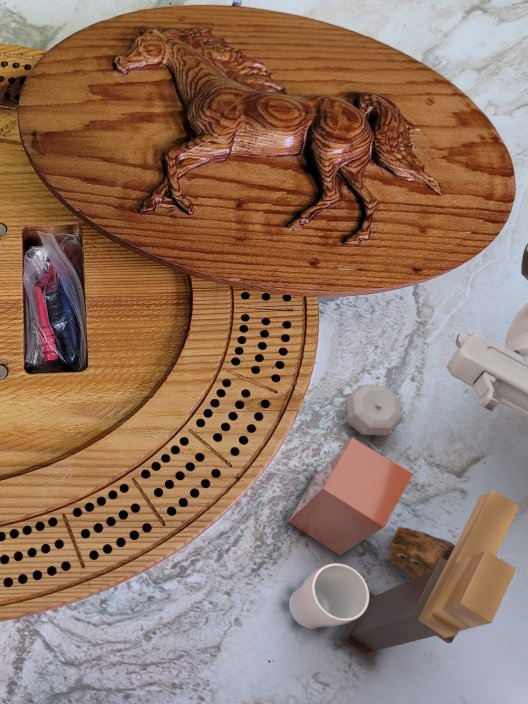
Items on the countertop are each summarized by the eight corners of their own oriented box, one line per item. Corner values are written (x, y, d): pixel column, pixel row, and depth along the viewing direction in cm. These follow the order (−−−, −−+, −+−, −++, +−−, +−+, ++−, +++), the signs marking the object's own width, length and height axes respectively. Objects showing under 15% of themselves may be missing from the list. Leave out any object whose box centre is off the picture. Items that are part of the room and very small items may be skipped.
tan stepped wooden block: (506, 511, 90) (554, 488, 81) (445, 638, 85) (489, 628, 76) (479, 496, 91) (524, 471, 82) (417, 620, 86) (457, 608, 77)
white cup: (323, 644, 109) (359, 632, 96) (275, 618, 111) (303, 603, 97) (341, 597, 111) (378, 579, 98) (293, 573, 113) (323, 552, 100)
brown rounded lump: (368, 560, 113) (395, 545, 104) (387, 524, 115) (415, 505, 106) (452, 613, 110) (489, 602, 100) (470, 574, 112) (508, 560, 102)
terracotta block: (366, 508, 116) (413, 473, 100) (339, 555, 114) (384, 527, 98) (314, 476, 119) (352, 437, 103) (287, 521, 116) (322, 488, 100)
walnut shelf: (395, 612, 110) (481, 581, 87) (369, 661, 108) (452, 643, 84) (363, 591, 112) (440, 556, 88) (338, 639, 109) (410, 615, 86)
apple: (375, 387, 124) (390, 370, 118) (403, 434, 121) (419, 419, 115) (327, 404, 124) (340, 388, 118) (353, 452, 120) (368, 438, 114)
